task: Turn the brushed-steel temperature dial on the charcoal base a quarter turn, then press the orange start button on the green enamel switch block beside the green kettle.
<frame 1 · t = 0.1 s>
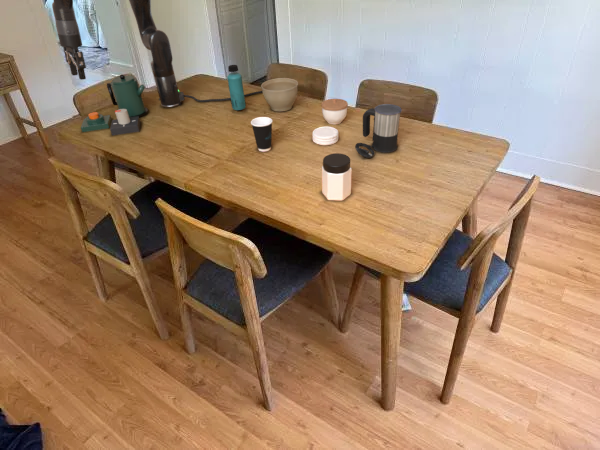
hand: (78, 77, 164), 22 cm above the table, tool pointing down, fingers open, 8 cm apart
jar: (336, 194, 129), on the table
coaster: (325, 140, 159), on the table
switch block: (97, 125, 180), on the table
beverage bottle: (239, 111, 186), on the table
dial base: (126, 128, 176), on the table
trinket box: (334, 121, 172), on the table
planter bowl: (281, 108, 186), on the table
dial: (122, 116, 173), point 6 cm above the table, hinge at 0.0°
dixie cup: (264, 149, 155), on the table
milk frother: (376, 151, 150), on the table
kettle: (133, 114, 189), on the table
start button: (93, 115, 178), point 5 cm above the table, slide at 0.2 cm
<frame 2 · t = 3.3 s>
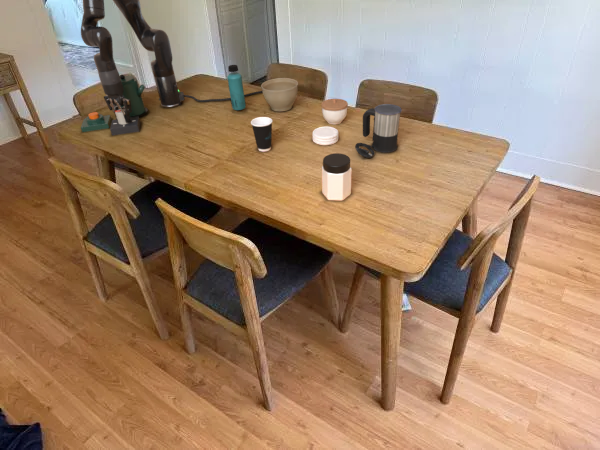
hand: (124, 121, 174), 4 cm above the table, tool pointing down, fingers closed on dial, 5 cm apart
dial: (122, 116, 173), point 6 cm above the table, hinge at 0.2°, touching gripper
everything else where it was.
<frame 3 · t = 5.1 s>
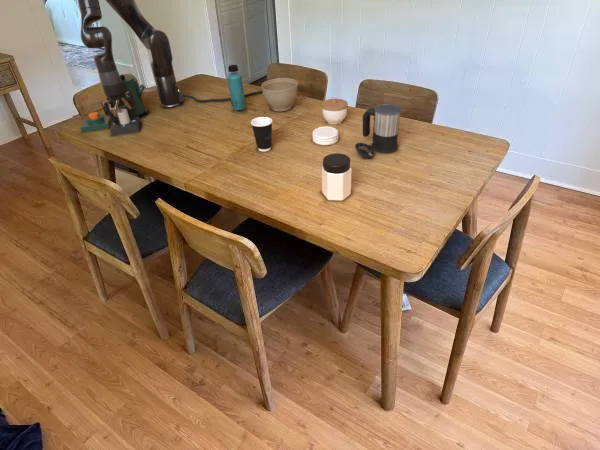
hand: (124, 120, 174), 4 cm above the table, tool pointing down, fingers open, 6 cm apart
dial: (122, 116, 173), point 6 cm above the table, hinge at 92.4°
everything else where it was.
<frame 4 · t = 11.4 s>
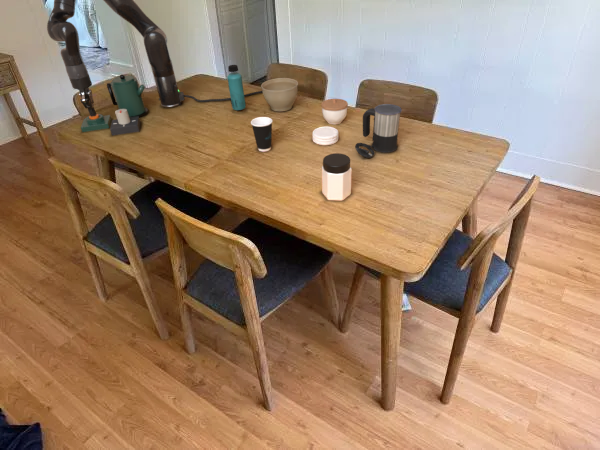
hand: (93, 115, 178), 5 cm above the table, tool pointing down, fingers closed
start button: (94, 117, 178), point 4 cm above the table, slide at -0.6 cm, touching gripper
everything else where it was.
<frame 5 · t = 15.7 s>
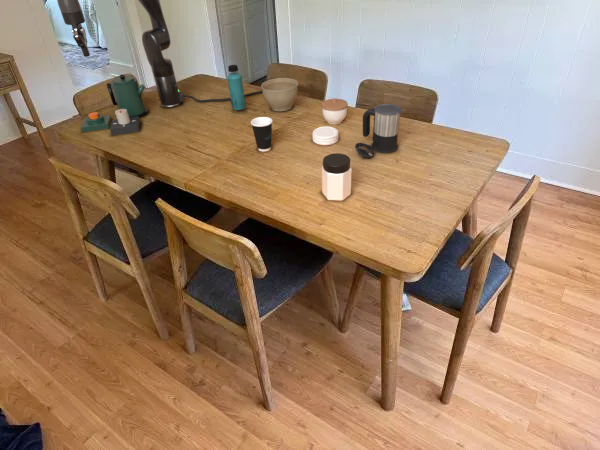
hand: (87, 56, 170), 27 cm above the table, tool pointing down, fingers closed
start button: (93, 115, 178), point 5 cm above the table, slide at 0.2 cm
everything else where it was.
at the end: dial at +92° (first picture: +0°); start button pushed in 1.1 cm at the most during the clip, back to 0.2 cm at the end; start button slide at 0.2 cm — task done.
